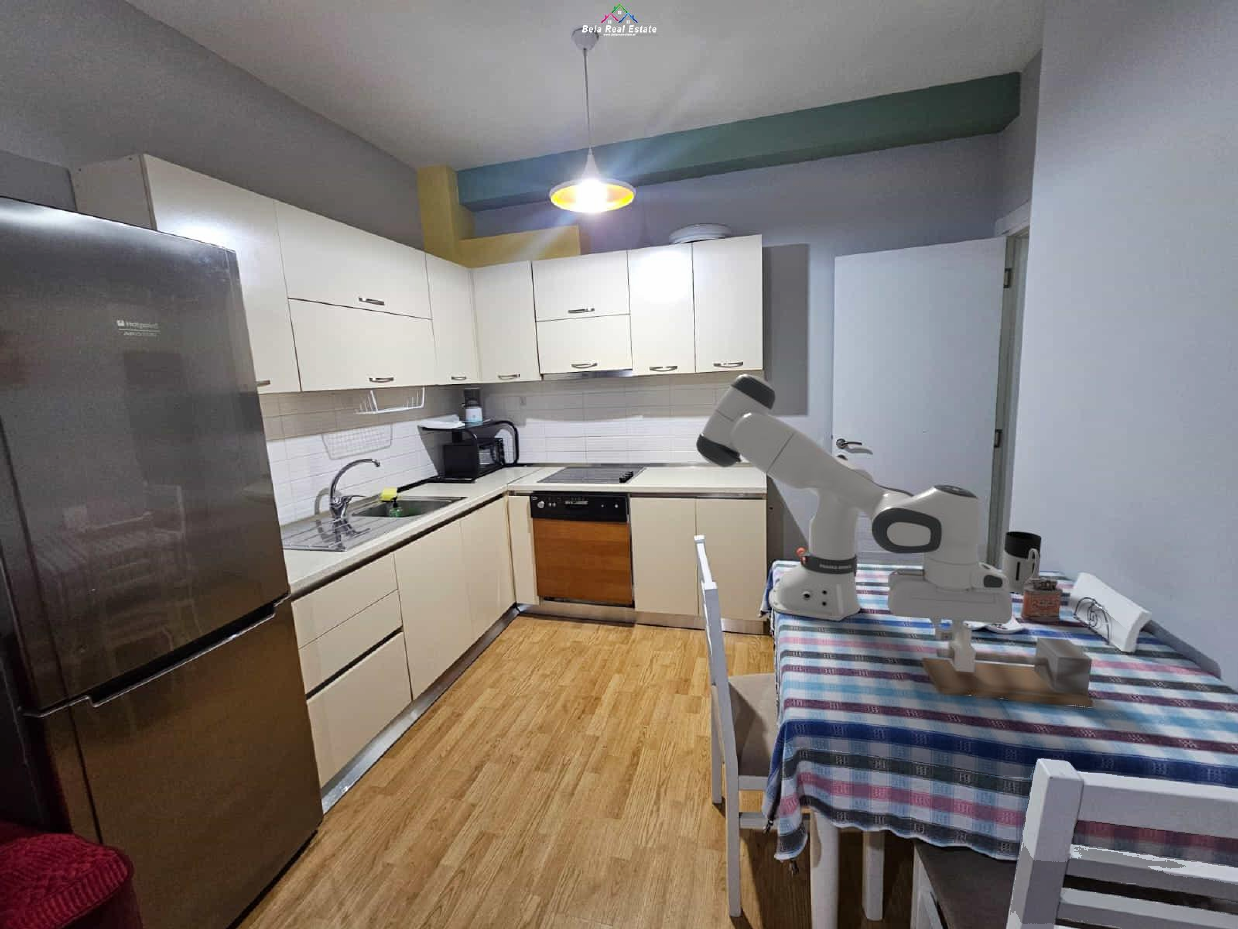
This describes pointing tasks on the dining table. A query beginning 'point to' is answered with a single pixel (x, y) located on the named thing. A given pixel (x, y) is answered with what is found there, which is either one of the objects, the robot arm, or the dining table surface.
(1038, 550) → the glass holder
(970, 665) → the white stepped block
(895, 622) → the dining table surface
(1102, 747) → the dining table surface
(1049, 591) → the lighter
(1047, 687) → the rod board
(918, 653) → the dining table surface
